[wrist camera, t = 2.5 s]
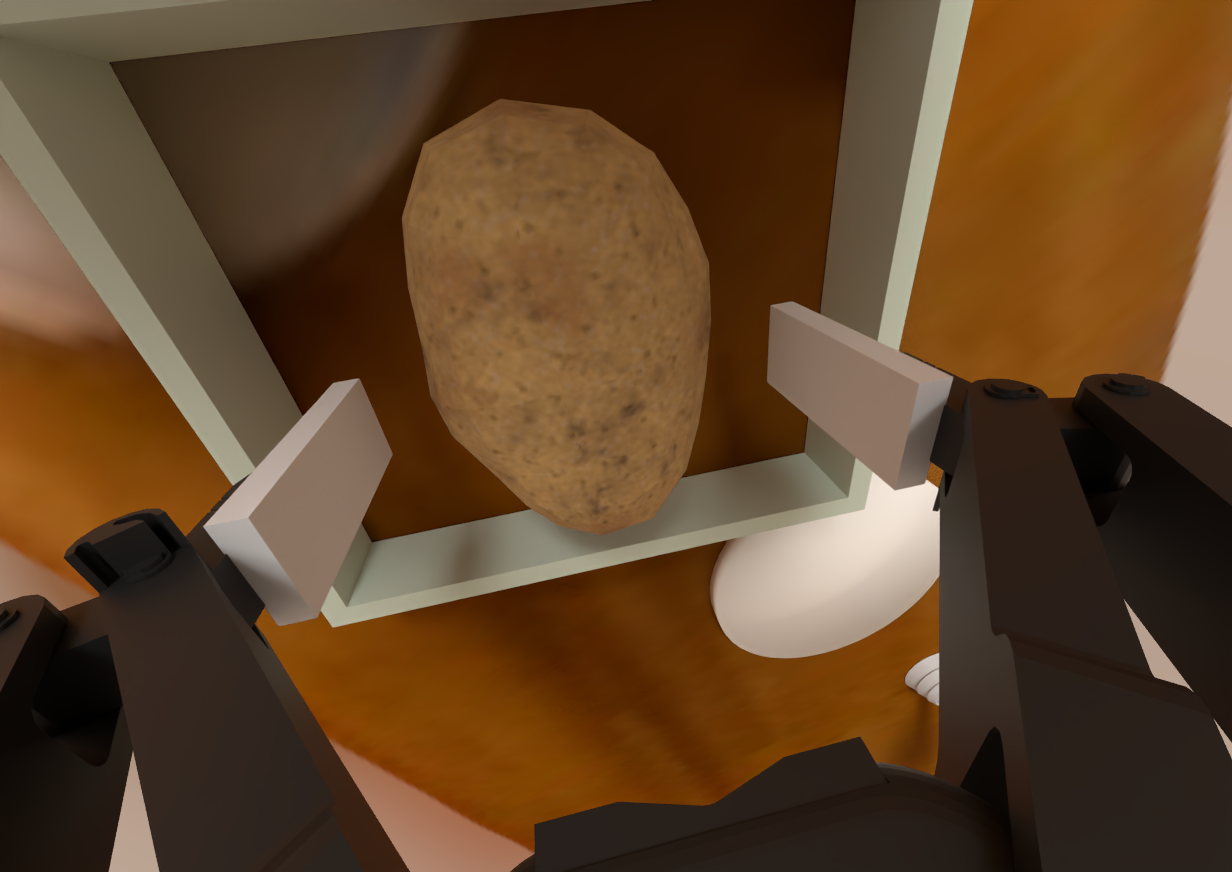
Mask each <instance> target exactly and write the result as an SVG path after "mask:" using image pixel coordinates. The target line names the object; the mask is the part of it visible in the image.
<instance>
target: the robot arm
mask: <svg viewBox="0 0 1232 872" xmlns="http://www.w3.org/2000/svg"><path fill="white" fill-rule="evenodd" d="M767 383H769V384H770V385H771V386H772V387H773V388H775V389H776V390H777V391H778V392H779V393H780V394H782V395H783V396H784V397H785V398H786V399H788V400H789V401H790V402H791V403H792V404H793V405H795V406H796V407H797V408H798V409H799V410H800V411H802V412H803V413H804V414H805V415H806V416H808V417H809V418H810V419H811V420H812V421H813V422H815V423H816V424H817V425H818V426H819V427H821V428H822V429H823V430H824V431H825V432H826V433H828V434H829V435H830V436H831V437H832V438H833V439H835V440H836V441H837V442H838V443H839V444H841V445H842V446H843V447H844V448H845V449H846V450H848V451H849V452H850V453H851V454H852V455H853V456H855V457H856V458H857V459H858V460H859V461H861V462H862V463H863V464H864V465H865V466H866V467H868V468H869V469H870V470H871V471H872V472H874V473H875V474H876V475H877V476H878V477H879V478H881V479H882V480H883V481H884V482H885V483H886V484H888V485H889V486H890V487H891V488H892V489H894V490H900V489H904V488H909V487H913V486H918V485H922V484H925V481H926V477H927V474H928V470H929V466H930V463H931V462H932V463H934V464H935V465H937V466H938V467H939V468H941V469H942V470H944V472H943V475H942V479H941V482H940V486H939V489H938V493H937V496H936V500H935V503H934V507H933V510H932V511H937V512H938V511H939V509H940V565H939V750H938V759H937V765H936V770H935V775H934V776H933V775H931V774H928V773H925V772H922V771H918V770H915V769H912V768H908V767H905V766H899V765H893V764H888V763H881V762H875V761H874V759H873V757H872V756H871V754H870V752H869V751H868V749H867V747H866V746H865V744H864V742H863V741H862V739H861V737H857V738H853V739H850V740H846V741H842V742H839V743H835V744H831V745H827V746H824V747H820V748H816V749H813V750H809V751H805V752H801V753H798V754H794V755H790V756H787V757H784V758H782V759H781V760H779V761H778V762H776V763H775V764H773V765H772V766H770V767H769V768H767V769H766V770H764V771H763V772H761V773H760V774H758V775H757V776H755V777H754V778H752V779H751V780H749V781H748V782H746V783H745V784H743V785H742V786H740V787H739V788H737V789H736V790H734V791H733V792H731V793H730V794H728V795H727V796H725V797H724V798H722V799H721V800H719V801H718V802H716V803H714V804H711V805H706V806H695V805H674V804H653V803H631V802H616V803H612V804H608V805H605V806H601V807H597V808H594V809H590V810H586V811H582V812H579V813H575V814H571V815H568V816H564V817H560V818H556V819H553V820H549V821H545V822H542V823H538V824H534V825H535V854H534V855H532V856H531V857H529V858H527V859H526V860H524V861H523V862H521V863H520V864H519V865H518V866H517V867H515V868H514V869H513V870H512V871H511V872H1232V759H1231V756H1230V754H1229V752H1228V750H1227V748H1226V745H1225V743H1224V741H1223V739H1222V736H1221V734H1220V732H1219V730H1218V727H1217V725H1216V723H1215V721H1216V722H1217V724H1218V725H1219V726H1220V727H1221V729H1222V730H1223V731H1224V733H1225V734H1226V735H1227V737H1228V738H1229V739H1230V741H1231V742H1232V427H1230V426H1229V425H1227V424H1225V423H1224V422H1222V421H1221V420H1219V419H1218V418H1216V417H1215V416H1213V415H1211V414H1210V413H1208V412H1206V411H1205V410H1204V409H1202V408H1201V407H1199V406H1197V405H1196V404H1194V403H1192V402H1191V401H1190V400H1188V399H1186V398H1185V397H1183V396H1182V395H1180V394H1178V393H1177V392H1175V391H1174V390H1172V389H1170V388H1169V387H1167V386H1165V385H1163V384H1160V383H1158V382H1155V381H1152V380H1148V379H1145V377H1143V376H1138V375H1131V374H1125V373H1119V374H1097V375H1091V376H1088V377H1085V378H1084V379H1083V381H1082V382H1081V384H1080V387H1079V389H1078V392H1077V394H1076V396H1075V397H1073V398H1048V397H1047V395H1046V394H1045V393H1044V392H1043V391H1042V390H1041V389H1039V388H1037V387H1035V386H1033V385H1030V384H1026V383H1023V382H1019V381H1014V380H1009V379H984V380H977V381H975V382H973V383H971V382H968V381H966V380H964V379H962V378H960V377H958V376H956V375H953V374H951V373H949V372H947V371H945V370H943V369H940V368H935V366H934V365H932V364H930V363H928V362H923V360H921V359H919V358H917V357H915V356H912V355H910V354H908V353H905V352H900V351H897V350H895V349H893V348H891V347H889V346H887V345H884V344H882V343H880V342H878V341H876V340H874V339H872V338H870V337H867V336H865V335H863V334H861V333H859V332H857V331H855V330H853V329H850V328H848V327H846V326H844V325H842V324H840V323H838V322H835V321H833V320H831V319H829V318H827V317H825V316H823V315H821V314H818V313H816V312H814V311H812V310H810V309H808V308H806V307H804V306H801V305H799V304H797V303H795V302H793V301H791V302H786V303H780V304H775V305H770V326H769V347H768V369H767ZM392 455H393V453H392V451H391V449H390V446H389V444H388V442H387V440H386V437H385V435H384V433H383V431H382V428H381V426H380V424H379V421H378V419H377V417H376V415H375V412H374V410H373V408H372V406H371V403H370V401H369V399H368V397H367V394H366V392H365V390H364V387H363V385H362V383H361V381H360V378H358V379H352V380H347V381H341V382H335V383H333V384H332V385H331V386H330V387H329V388H328V389H327V390H326V392H325V393H324V394H323V395H322V396H321V397H320V398H319V399H318V400H317V401H316V403H315V404H314V405H313V406H312V407H311V408H310V409H309V410H308V411H307V412H306V414H305V415H304V416H303V417H302V418H301V419H300V420H299V421H298V422H297V424H296V425H295V426H294V427H293V428H292V429H291V430H290V431H289V432H288V433H287V435H286V436H285V437H284V438H283V439H282V440H281V441H280V442H279V443H278V444H277V446H276V447H275V448H274V449H273V450H272V451H271V452H270V453H269V454H268V455H267V457H266V458H265V459H264V460H263V461H262V462H261V463H260V464H259V465H258V467H257V468H256V469H255V470H254V471H253V472H252V473H250V474H249V475H247V476H246V477H244V478H243V479H242V480H240V481H239V482H237V483H236V484H234V485H233V486H232V488H231V489H230V490H229V491H228V492H227V493H226V494H225V495H224V496H223V497H222V498H221V499H222V501H218V503H217V504H216V505H215V506H214V507H213V508H212V509H211V512H210V513H207V514H206V515H205V517H204V518H203V519H202V520H201V521H200V522H199V523H198V524H197V525H196V526H195V527H194V528H193V529H192V531H191V532H190V533H189V534H188V535H187V536H186V537H185V536H184V535H183V533H182V532H181V531H180V530H179V528H178V527H177V526H176V525H175V523H174V522H173V521H172V520H171V518H170V517H169V516H168V515H167V513H166V512H165V511H163V510H161V509H145V510H141V511H137V512H133V513H129V514H127V515H124V516H122V517H119V518H116V519H114V520H111V521H109V522H107V523H105V524H103V525H101V526H99V527H97V528H95V529H93V530H92V531H90V532H89V533H87V534H86V535H84V536H83V537H81V538H80V539H78V540H77V541H76V542H75V543H74V544H73V545H72V546H71V547H69V548H68V549H67V551H66V553H65V556H64V559H65V560H66V561H67V562H68V563H69V564H70V565H71V566H72V567H73V568H74V569H75V570H76V571H77V572H78V573H79V574H81V575H82V576H83V577H84V578H85V579H86V580H87V581H88V582H89V583H90V584H91V585H92V586H93V587H94V588H95V589H96V590H97V591H98V592H99V595H100V596H99V597H97V598H94V599H91V600H89V601H86V602H83V603H81V604H78V605H75V606H73V607H70V608H67V609H65V610H62V611H59V610H58V609H57V608H56V607H55V606H53V605H52V604H51V603H50V602H49V601H48V600H47V599H45V597H42V596H40V595H30V596H22V597H19V598H17V599H13V600H10V601H7V602H4V603H2V604H0V872H108V871H109V867H110V862H111V856H112V852H113V847H114V842H115V837H116V832H117V827H118V821H119V817H120V812H121V807H122V802H123V797H124V792H125V786H126V782H127V776H128V772H129V767H130V761H131V757H132V752H134V756H135V761H136V766H137V771H138V775H139V780H140V784H141V789H142V793H143V798H144V803H145V807H146V811H147V817H148V821H149V826H150V830H151V835H152V839H153V844H154V849H155V853H156V858H157V862H158V867H159V871H160V872H410V871H409V869H408V868H407V866H406V865H405V863H404V861H403V860H402V858H401V857H400V855H399V853H398V852H397V850H396V849H395V847H394V845H393V844H392V842H391V840H390V839H389V837H388V835H387V834H386V832H385V831H384V829H383V827H382V826H381V824H380V823H379V821H378V819H377V818H376V816H375V815H374V813H373V811H372V810H371V808H370V807H369V805H368V803H367V802H366V800H365V798H364V797H363V795H362V793H361V792H360V790H359V788H358V787H357V785H356V784H355V782H354V781H353V779H352V777H351V776H350V774H349V772H348V771H347V769H346V767H345V766H344V764H343V763H342V761H341V760H340V758H339V756H338V754H337V753H336V751H335V750H334V749H333V746H332V745H331V743H330V742H329V740H328V738H327V737H326V735H325V733H324V732H323V730H322V729H321V727H320V725H319V724H318V722H317V720H316V719H315V717H314V716H313V714H312V712H311V711H310V709H309V708H308V706H307V704H306V703H305V701H304V699H303V698H302V696H301V695H300V693H299V691H298V690H297V688H296V686H295V685H294V683H293V682H292V680H291V678H290V677H289V675H288V673H287V672H286V670H285V669H284V667H283V665H282V664H281V662H280V661H279V659H278V657H277V656H276V654H275V652H274V651H273V649H272V648H271V646H270V644H269V643H268V641H267V639H266V638H265V636H264V635H263V633H262V632H261V631H260V630H259V628H258V627H257V626H256V625H255V622H256V621H257V619H258V617H259V616H260V614H261V612H262V610H263V609H264V607H265V609H266V610H267V611H268V612H269V614H270V615H271V616H272V618H273V619H274V620H275V622H276V623H277V624H278V626H283V625H287V624H292V623H296V622H301V621H305V620H310V619H315V618H317V617H318V615H319V613H320V611H321V608H322V606H323V604H324V602H325V600H326V598H327V595H328V593H329V591H330V589H331V587H332V585H333V582H334V580H335V578H336V576H337V574H338V572H339V569H340V567H341V565H342V563H343V561H344V559H345V557H346V554H347V552H348V550H349V548H350V546H351V544H352V541H353V539H354V537H355V535H356V533H357V531H358V528H359V526H360V524H361V522H362V520H363V518H364V515H365V513H366V511H367V509H368V507H369V505H370V503H371V500H372V498H373V496H374V494H375V492H376V490H377V487H378V485H379V483H380V481H381V479H382V477H383V474H384V472H385V470H386V468H387V466H388V464H389V461H390V459H391V457H392ZM1129 479H1130V480H1129ZM1128 481H1129V482H1128ZM1123 598H1124V599H1123ZM1124 600H1125V601H1126V602H1127V604H1128V605H1129V606H1130V608H1131V609H1132V610H1133V612H1134V613H1135V614H1136V616H1137V617H1138V618H1139V620H1140V621H1141V622H1142V624H1143V625H1144V626H1145V628H1146V629H1147V630H1148V632H1149V633H1150V634H1151V636H1152V637H1153V638H1154V640H1155V641H1156V642H1157V644H1158V645H1159V646H1160V648H1161V649H1162V650H1163V652H1164V653H1165V654H1166V656H1167V657H1168V658H1169V660H1170V661H1171V662H1172V664H1173V665H1174V666H1175V667H1176V669H1177V670H1178V671H1179V673H1180V674H1181V676H1182V677H1183V678H1184V680H1185V681H1186V682H1187V684H1188V685H1189V686H1190V688H1191V689H1192V690H1193V692H1192V691H1191V690H1190V689H1188V688H1187V687H1185V686H1182V685H1178V684H1175V683H1171V682H1168V681H1165V680H1161V679H1158V678H1155V677H1154V676H1153V674H1152V672H1151V670H1150V668H1149V665H1148V663H1147V660H1146V657H1145V655H1144V652H1143V649H1142V647H1141V644H1140V641H1139V639H1138V636H1137V633H1136V631H1135V628H1134V625H1133V623H1132V620H1131V617H1130V615H1129V612H1128V609H1127V607H1126V604H1125V602H1124ZM1213 718H1214V719H1213ZM1214 720H1215V721H1214Z"/></svg>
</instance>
